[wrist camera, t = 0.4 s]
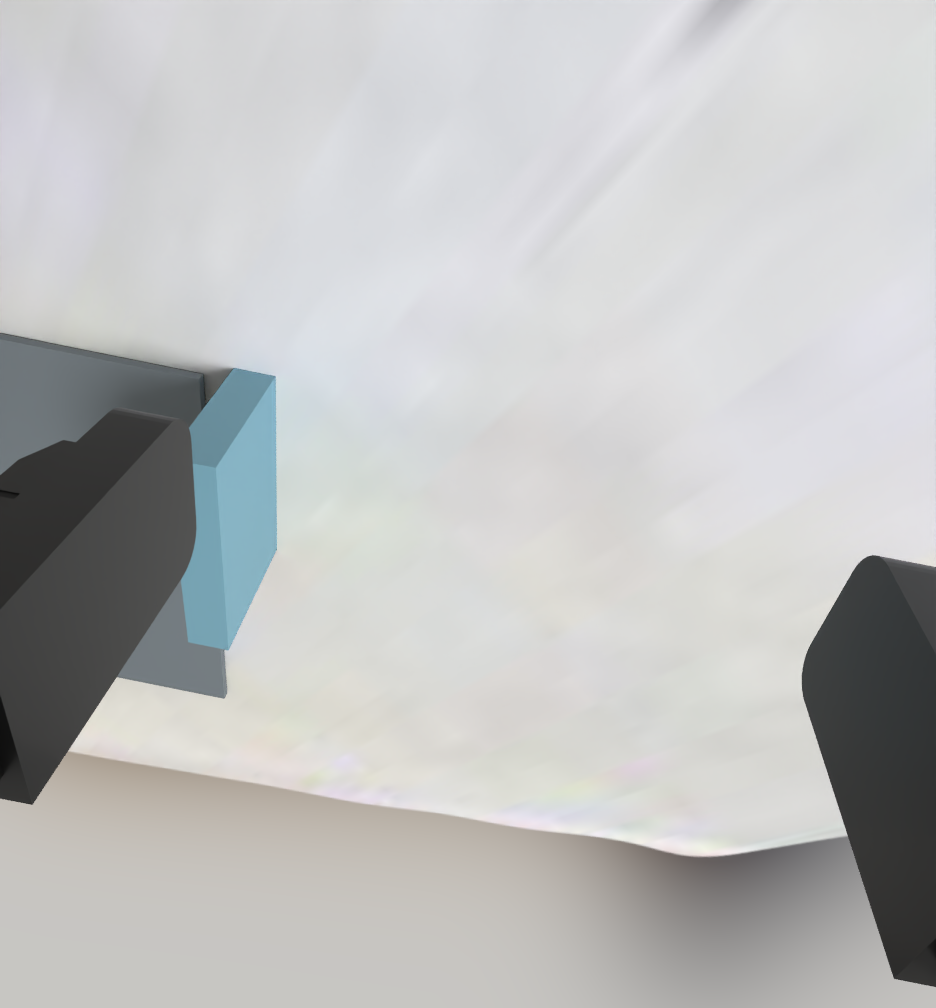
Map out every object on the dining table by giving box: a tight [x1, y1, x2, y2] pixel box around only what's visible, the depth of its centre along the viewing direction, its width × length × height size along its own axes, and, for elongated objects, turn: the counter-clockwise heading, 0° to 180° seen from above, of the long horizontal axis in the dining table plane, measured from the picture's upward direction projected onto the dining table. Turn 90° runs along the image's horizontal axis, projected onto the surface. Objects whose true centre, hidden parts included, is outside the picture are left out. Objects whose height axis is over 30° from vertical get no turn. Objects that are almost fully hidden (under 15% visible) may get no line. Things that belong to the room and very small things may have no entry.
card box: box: [181, 368, 277, 650], centre depth 29 cm, size 9×2×6 cm, turn 171°
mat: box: [0, 333, 227, 698], centre depth 35 cm, size 20×18×1 cm
